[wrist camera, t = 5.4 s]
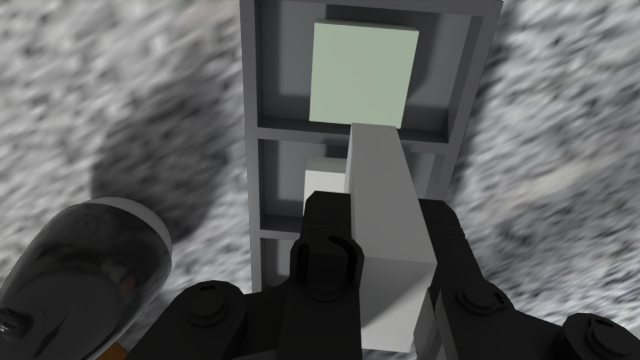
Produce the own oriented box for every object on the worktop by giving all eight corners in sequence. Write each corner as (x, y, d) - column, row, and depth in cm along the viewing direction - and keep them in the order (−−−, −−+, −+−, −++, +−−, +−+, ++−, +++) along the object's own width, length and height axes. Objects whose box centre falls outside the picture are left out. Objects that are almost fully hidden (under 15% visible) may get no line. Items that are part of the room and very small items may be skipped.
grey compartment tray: (402, 288, 36) (408, 322, 33) (261, 275, 36) (253, 307, 33) (479, -6, 22) (503, 0, 19) (254, -23, 23) (238, -20, 19)
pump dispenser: (188, 189, 31) (77, 351, 18) (187, 273, 37) (100, 444, 24) (68, 165, 31) (-133, 314, 18) (85, 254, 36) (-61, 418, 23)
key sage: (396, 116, 24) (400, 128, 22) (312, 109, 24) (309, 120, 22) (413, 25, 21) (419, 31, 19) (317, 17, 21) (314, 23, 19)
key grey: (378, 227, 27) (380, 245, 26) (304, 221, 28) (302, 238, 26) (390, 162, 25) (394, 177, 23) (308, 155, 25) (305, 170, 23)
